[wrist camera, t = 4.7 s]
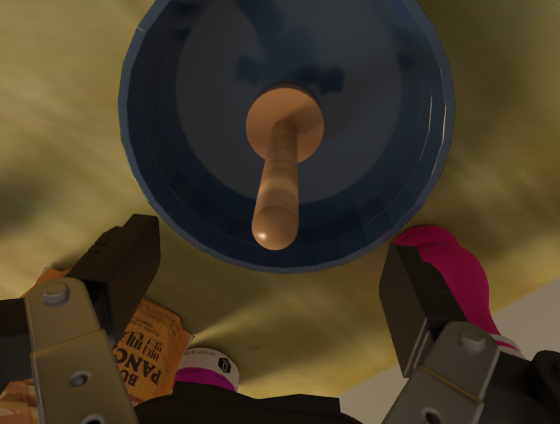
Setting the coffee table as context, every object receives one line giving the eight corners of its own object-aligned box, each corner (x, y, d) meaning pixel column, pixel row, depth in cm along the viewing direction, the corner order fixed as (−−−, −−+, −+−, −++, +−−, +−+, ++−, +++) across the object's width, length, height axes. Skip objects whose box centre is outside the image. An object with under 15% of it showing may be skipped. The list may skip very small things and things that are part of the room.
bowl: (141, -64, 24) (98, -86, 19) (464, -24, 24) (511, -34, 19) (157, 219, 34) (132, 257, 29) (386, 245, 34) (403, 287, 29)
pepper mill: (381, 286, 37) (461, 539, 19) (382, 222, 33) (481, 458, 16) (457, 281, 36) (612, 538, 18) (466, 216, 33) (666, 453, 15)
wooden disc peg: (252, 77, 27) (197, 157, 12) (327, 86, 27) (366, 177, 12) (247, 150, 30) (197, 290, 15) (316, 158, 30) (336, 305, 15)
